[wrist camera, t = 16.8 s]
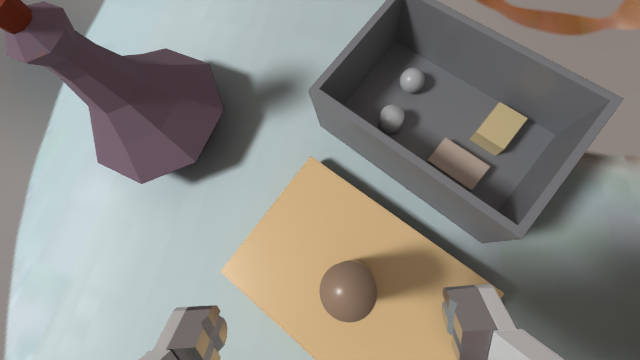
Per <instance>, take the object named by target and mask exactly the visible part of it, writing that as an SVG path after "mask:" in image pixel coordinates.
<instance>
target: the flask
mask: <svg viewBox="0 0 640 360" xmlns="http://www.w3.org/2000/svg"><path fill="white" fill-rule="evenodd" d="M0 28H1V29H3V30H5V39H6V51H7V55H8V56H10V57H12V58H15V59H17V60H19V61H22V62H24V63H28V64H35V65H41V66H45V67H46V68H47V69H49V70H50V71H52V72H53V73H55V74H56V75H57V76H59V77H60V78H61V79H62V80H63V81H64V82H65V83H66V84H67V85H68V86H69V87H70V88H71V89H72V90H73V91H74V92H75V93H76V94H77V95H78V96H79V97H80V98H81V99H82V100H83V101H84V102H85V103H86V104H87V105H88V107H89V111H90V118H91V124H92V130H93V136H94V142H95V148H96V154H97V160H98V163H100V164H102V165H104V166H106V167H108V168H110V169H112V170H114V171H116V172H118V173H120V174H122V175H124V176H126V177H128V178H130V179H132V180H134V181H136V182H139V183H141V184H143V183H146V182H148V181H150V180H153V179H155V178H158V177H160V176H163V175H165V174H168V173H170V172H173V171H175V170H177V169H180V168H182V167H185V166H187V165H190V164H192V163H195V162H196V161H197V159H198V157H199V155H200V153H201V152H202V150H203V148H204V146H205V144H206V142H207V140H208V139H209V137H210V135H211V133H212V131H213V129H214V127H215V126H216V124H217V122H218V120H219V118H220V116H221V114H222V113H223V111H224V110H223V106H222V103H221V100H220V97H219V93H218V90H217V87H216V84H215V80H214V77H213V74H212V71H211V67H210V64H208V63H205V62H202V61H200V60H197V59H194V58H191V57H188V56H186V55H183V54H180V53H177V52H174V51H172V50H169V49H162V50H157V51H153V52H149V53H145V54H138V55H127V56H121V55H119V54H116V53H114V52H112V51H110V50H108V49H105V48H103V47H101V46H99V45H97V44H95V43H93V42H92V41H90V40H89V39H87V38H86V37H84V36H83V35H81V34H79V33H78V32H77V31H75V30H74V28H73V26H72V24H71V23H70V21H69V19H68V17H67V15H66V13H65V12H64V9H63V8H60V7H58V6H55V5H52V4H49V3H46V2H40V3H35V4H31V5H25V4H24V3H23V2H22V1H21V0H0Z"/></svg>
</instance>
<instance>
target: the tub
mask: <svg viewBox="0 0 640 360" xmlns="http://www.w3.org/2000/svg"><path fill="white" fill-rule="evenodd" d="M308 91H309V94H310V97H311V100H312V102H313V105H314V108H315V111H316V114H317V117H318V120H319V123H320V126H321V127H323V128H324V129H326V130H327V131H328V132H330V133H331V134H332V135H334V136H335V137H337V138H338V139H339V140H341V141H342V142H343V143H345V144H346V145H348V146H349V147H350V148H352V149H353V150H354V151H356V152H357V153H359V154H360V155H361V156H363V157H364V158H365V159H367V160H368V161H370V162H371V163H372V164H374V165H375V166H376V167H378V168H379V169H381V170H382V171H383V172H385V173H386V174H387V175H389V176H390V177H392V178H393V179H394V180H396V181H397V182H398V183H400V184H401V185H403V186H404V187H405V188H407V189H408V190H409V191H411V192H412V193H414V194H415V195H416V196H418V197H419V198H420V199H422V200H423V201H425V202H426V203H427V204H429V205H430V206H431V207H433V208H434V209H436V210H437V211H438V212H440V213H441V214H442V215H444V216H445V217H447V218H448V219H449V220H451V221H452V222H453V223H455V224H456V225H458V226H459V227H460V228H462V229H463V230H464V231H466V232H467V233H469V234H470V235H471V236H473V237H474V238H475V239H477V240H478V241H480V242H481V243H488V242H498V241H507V240H517V239H522V238H523V236H524V235H525V234H526V232H527V231H528V229H529V228H530V227H531V225H532V224H533V223H534V221H535V220H536V218H537V217H538V216H539V214H540V213H541V212H542V210H543V209H544V208H545V206H546V205H547V203H548V202H549V201H550V199H551V198H552V197H553V195H554V194H555V192H556V191H557V190H558V188H559V187H560V186H561V184H562V183H563V182H564V180H565V179H566V177H567V176H568V175H569V173H570V172H571V171H572V169H573V168H574V167H575V165H576V164H577V162H578V161H579V160H580V158H581V157H582V156H583V154H584V153H585V151H586V150H587V149H588V147H589V146H590V144H591V143H592V142H593V141H594V139H595V138H596V136H597V135H598V134H599V132H600V130H601V129H602V128H603V127H604V125H605V124H606V123H607V121H608V120H609V119H610V117H611V116H612V114H613V113H614V112H615V110H616V109H617V108H618V106H619V105H620V104H621V102H622V101H623V99H624V98H622V97H620V96H618V95H616V94H614V93H613V92H611V91H609V90H607V89H605V88H603V87H601V86H599V85H597V84H595V83H593V82H591V81H589V80H588V79H586V78H584V77H582V76H580V75H578V74H576V73H574V72H572V71H570V70H568V69H566V68H564V67H563V66H561V65H559V64H557V63H555V62H553V61H551V60H549V59H547V58H546V57H544V56H542V55H540V54H538V53H536V52H534V51H532V50H530V49H528V48H526V47H524V46H523V45H521V44H519V43H517V42H515V41H513V40H511V39H509V38H507V37H505V36H503V35H501V34H500V33H498V32H496V31H494V30H492V29H490V28H488V27H486V26H484V25H482V24H480V23H479V22H477V21H474V20H473V19H471V18H469V17H467V16H465V15H463V14H461V13H459V12H457V11H455V10H454V9H452V8H450V7H448V6H446V5H444V4H442V3H440V2H438V1H436V0H386V1H385V2H384V4H383V5H382V6H381V7H380V8H379V9H378V11H377V12H376V13H375V14H374V15H373V16H372V17H371V19H370V20H369V21H368V22H367V23H366V24H365V26H364V27H363V28H362V29H361V30H360V31H359V32H358V34H357V35H356V36H355V37H354V38H353V39H352V41H351V42H350V43H349V44H348V45H347V46H346V47H345V49H344V50H343V51H342V52H341V53H340V54H339V56H338V57H337V58H336V59H335V60H334V61H333V62H332V64H331V65H330V66H329V67H328V68H327V69H326V71H325V72H324V73H323V74H322V75H321V76H320V78H319V79H318V80H317V81H316V82H315V83H314V84H313V86H312V87H311V88H310V89H309V90H308Z"/></svg>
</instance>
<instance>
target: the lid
mask: <svg viewBox="0 0 640 360" xmlns="http://www.w3.org/2000/svg"><path fill="white" fill-rule="evenodd" d="M220 272H221V273H222V274H223V275H224V276H226V277H227V278H228V279H229V280H230V281H231V282H232V283H233V284H234V285H235V286H236V287H237V288H239V289H240V290H241V291H242V292H243V293H244V294H245V295H246V296H247V297H248V298H249V299H250V300H252V301H253V302H254V303H255V304H256V305H257V306H258V307H259V308H260V309H261V310H262V311H263V312H265V313H266V314H267V315H268V316H269V317H270V318H271V319H272V320H273V321H274V322H275V323H277V324H278V325H279V326H280V327H281V328H282V329H283V330H284V331H285V332H286V333H287V334H288V335H290V336H291V337H292V338H293V339H294V340H295V341H296V342H297V343H298V344H299V345H300V346H301V347H303V348H304V349H305V350H306V351H307V352H308V353H309V354H310V355H311V356H312V357H313V358H314V359H316V360H457V359H456V356H455V354H454V351H453V348H452V345H451V344H452V336H451V335H450V334H449V333H448V332H447V330H446V327H445V324H444V320H443V314H442V303H443V302H444V301H445V300H444V297H443V289H444V287H454V286H465V285H482V284H490V283H489V282H488V281H486V280H485V279H483V278H482V277H481V276H479V275H478V274H476V273H475V272H474V271H472V270H471V269H469V268H468V267H466V266H465V265H464V264H462V263H461V262H459V261H458V260H457V259H455V258H454V257H452V256H451V255H450V254H448V253H447V252H445V251H444V250H443V249H441V248H440V247H438V246H437V245H435V244H434V243H433V242H431V241H430V240H428V239H427V238H426V237H424V236H423V235H421V234H420V233H419V232H417V231H416V230H414V229H413V228H412V227H410V226H409V225H407V224H406V223H404V222H403V221H402V220H400V219H399V218H397V217H396V216H395V215H393V214H392V213H390V212H389V211H388V210H386V209H385V208H383V207H382V206H381V205H379V204H378V203H376V202H375V201H373V200H372V199H371V198H369V197H368V196H366V195H365V194H364V193H362V192H361V191H359V190H358V189H357V188H355V187H354V186H352V185H351V184H350V183H348V182H347V181H345V180H344V179H342V178H341V177H340V176H338V175H337V174H335V173H334V172H333V171H331V170H330V169H328V168H327V167H326V166H324V165H323V164H321V163H320V162H319V161H317V160H316V159H314V158H313V157H311V156H310V158H309V159H308V160H307V162H306V163H305V164H304V165H303V167H302V168H301V169H300V171H299V172H298V173H297V174H296V176H295V177H294V178H293V179H292V181H291V182H290V183H289V185H288V186H287V187H286V188H285V190H284V191H283V192H282V193H281V195H280V196H279V197H278V199H277V200H276V201H275V202H274V204H273V205H272V206H271V208H270V209H269V210H268V211H267V213H266V214H265V215H264V216H263V218H262V219H261V220H260V222H259V223H258V224H257V225H256V227H255V228H254V229H253V231H252V232H251V233H250V234H249V236H248V237H247V238H246V239H245V241H244V242H243V243H242V245H241V246H240V247H239V248H238V250H237V251H236V252H235V254H234V255H233V256H232V257H231V259H230V260H229V261H228V262H227V264H226V265H225V266H224V268H223V269H222V270H221V271H220ZM491 285H492V284H491ZM492 286H493V285H492ZM494 288H495V290H496V292H497V293H498V295H499V297H500V299H501V298H502V296H503V295H504V293H503V292H502V291H500V290H499V289H497V288H496V287H495V286H494Z"/></svg>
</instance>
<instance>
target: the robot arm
mask: <svg viewBox="0 0 640 360" xmlns="http://www.w3.org/2000/svg"><path fill="white" fill-rule="evenodd" d="M443 297H444V300H445V301H444V302H443V303H442V314H443V320H444V324H445V327H446V330H447V332H448V333H449V334H450V335H451V336H452V344H451V345H452V348H453V351H454V354H455V356H456V359H457V360H564V359H563V358H561V357H560V356H559V355H557V354H556V353H555V352H553V351H552V350H551V349H549V348H548V347H546V346H545V345H544V344H542V343H541V342H540V341H538V340H537V339H536V338H534V337H533V336H531V335H530V334H529V333H527V332H526V331H525V330H523V329H517V328H516V326H515V324H514V322H513V320H512V319H511V317H510V315H509V313H508V311H507V310H506V308H505V306H504V304H503V302H502V301H501V299H500V297H499V295H498V293H497V292H496V290H495V288H494V286H492V285H491V284H482V285H465V286H454V287H444V289H443ZM219 313H220V310H219V308H218V307H217V305H216V306H196V307H180V308H176V309H175V310H174V311H173V312H172V314H171V316H170V318H169V320H168V321H167V323H166V325H165V327H164V329H163V331H162V333H161V335H160V337H159V339H158V341H157V343H156V345H155V347H154V349H153V351H148V352H147V353H146V354H145V355H144V356H143V357H142V358H140V359H139V360H220V355H219V352H218V351H219V350H220V349H221V348H222V347H223V346H224V345H225V341H226V338H227V325H226V321H225V319H224V318H222V317H221V316H219Z"/></svg>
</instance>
